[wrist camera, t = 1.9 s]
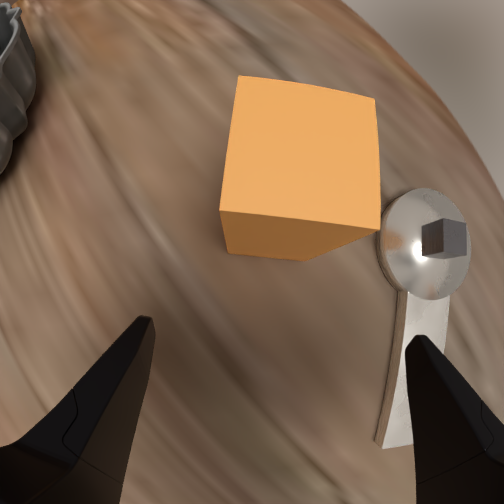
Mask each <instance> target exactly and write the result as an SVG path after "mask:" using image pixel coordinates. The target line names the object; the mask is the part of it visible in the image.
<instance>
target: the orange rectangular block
mask: <svg viewBox="0 0 504 504" xmlns="http://www.w3.org/2000/svg"><path fill="white" fill-rule="evenodd" d="M219 212H220V217H221V222H222V226H223V231H224V236H225V241H226V246H227V251H228V253H229V254H238V255H248V256H258V257H267V258H277V259H287V260H297V261H307V260H309V259H312V258H314V257H316V256H319V255H321V254H324V253H326V252H329V251H331V250H333V249H336V248H338V247H341V246H343V245H346V244H348V243H350V242H353V241H355V240H357V239H360V238H362V237H365V236H367V235H369V234H372V233H374V232H376V231H379V230H380V166H379V147H378V132H377V120H376V109H375V100H374V99H373V98H369V97H365V96H361V95H357V94H352V93H348V92H344V91H339V90H334V89H329V88H324V87H319V86H314V85H308V84H302V83H296V82H289V81H282V80H275V79H267V78H258V77H248V76H239V77H238V83H237V89H236V95H235V102H234V108H233V115H232V121H231V128H230V135H229V141H228V148H227V155H226V163H225V170H224V177H223V185H222V193H221V200H220V208H219Z"/></svg>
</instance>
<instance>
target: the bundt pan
mask: <svg viewBox="0 0 504 504" xmlns="http://www.w3.org/2000/svg"><path fill="white" fill-rule="evenodd" d="M21 13H22V10H21V8H20V7H16V8H13V9H12V7H11V5H10V4H9V3H2V4H0V174H1V173H2V172H3V171H4V169H5V167H6V166H7V164H8V162H9V159H10V156H11V153H12V146H13V140H14V139H15V138H16V137H17V136H19V135H20V134H21V133H23V132H24V130H25V129H26V127H27V122H28V121H27V116H26V110H27V108H28V107H29V105H30V103H31V101H32V99H33V96H34V93H35V89H36V73H35V69H34V67H35V52H34V49H33V47H32V44H31V42H30V39H29V37H28V35H27V32H26V30H25V27H24V25H23V22H22V20H21V17H20V15H21Z"/></svg>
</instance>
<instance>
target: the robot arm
mask: <svg viewBox="0 0 504 504" xmlns="http://www.w3.org/2000/svg"><path fill="white" fill-rule="evenodd" d="M154 343H155V328H154V324H153V319H152V318H151V317H149V316H142V315H141V316H139V317H137V318H136V319H135V321H134V322H133V323H132V324H131V325H130V326H129V327H128V328H127V329H126V330H125V331H124V332H123V333H122V334H121V335H120V336H119V338H118V339H117V340H116V341H115V342H114V343H113V344H112V345H111V346H110V347H109V348H108V349H107V351H106V352H105V353H104V354H103V355H102V356H101V357H100V358H99V359H98V360H97V361H96V362H95V364H94V365H93V366H92V367H91V368H90V369H89V370H88V371H87V372H86V374H85V375H84V376H83V377H82V378H81V379H80V380H79V381H78V382H77V384H76V385H75V386H74V387H73V389H71V390H70V391H69V392H68V394H67V395H66V396H65V397H64V398H63V399H62V400H61V401H60V402H59V403H58V404H57V405H56V406H55V407H54V408H53V409H52V410H51V411H50V412H49V413H48V414H47V415H46V416H45V417H44V418H43V419H42V420H40V421H39V422H38V423H37V424H36V425H35V426H34V427H33V428H32V429H30V430H29V431H28V432H27V433H26V434H25V435H24V436H23V437H21V438H20V439H19V440H17V441H15V442H14V443H12V444H9V445H6V446H3V447H0V504H119V502H120V497H121V492H122V487H123V482H124V477H125V473H126V468H127V464H128V459H129V455H130V451H131V446H132V442H133V438H134V434H135V430H136V426H137V422H138V418H139V414H140V410H141V406H142V403H143V399H144V395H145V391H146V388H147V384H148V380H149V374H150V368H151V361H152V355H153V349H154ZM405 367H406V384H407V394H408V401H409V409H410V417H411V425H412V435H413V445H414V457H415V472H416V504H504V425H503V423H502V422H501V421H500V420H499V419H498V418H497V417H496V416H495V415H494V414H493V412H492V411H491V410H490V409H489V408H488V406H487V405H486V404H485V403H484V401H483V400H481V398H480V397H479V395H478V394H477V393H476V392H475V391H474V389H473V388H472V387H471V386H470V385H469V383H468V382H467V381H466V380H465V379H464V377H463V376H462V375H461V374H460V373H459V372H458V370H457V369H456V368H455V367H454V366H453V365H452V363H451V362H450V361H449V360H448V359H447V358H446V357H445V355H444V354H443V353H442V352H441V351H440V350H439V349H438V348H437V346H436V345H435V344H434V343H433V342H432V341H431V340H430V339H429V338H428V337H427V336H426V335H415V336H414V337H413V339H412V340H411V341H410V343H409V344H408V345H407V347H406V349H405Z"/></svg>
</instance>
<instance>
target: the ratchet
mask: <svg viewBox="0 0 504 504" xmlns="http://www.w3.org/2000/svg"><path fill="white" fill-rule="evenodd" d="M376 250H377V256H378V260H379V264H380V266H381V269H382V271H383V273H384V275H385V277H386V278H387V280H388V282H389V283H390V284H391V285H392V286H393V287H394V288H395V289H396V290H397V291H398V298H397V310H396V320H395V329H394V337H393V345H392V353H391V359H390V366H389V372H388V378H387V384H386V389H385V395H384V400H383V405H382V410H381V414H380V419H379V423H378V428H377V432H376V436H375V440H374V442H375V443H376V444H377V445H378V446H379V447H380V448H381V449H386V448H392V447H398V446H404V445H410V444H413V435H412V425H411V417H410V409H409V401H408V394H407V384H406V367H405V349H406V347H407V345H408V344H409V343H410V341H411V340H412V339H413V337H414V336H415V335H426V336H427V337H428V338H429V339H430V340H431V341H432V342H433V343H434V344H435V345H436V346H437V348H438V349H439V350H440V351H441V352H442V353H443V354H444V347H445V340H446V332H447V323H448V312H449V300H450V294H452V293H453V292H454V291H455V290H456V289H457V288H458V287H459V286H460V285H461V283H462V282H463V280H464V278H465V276H466V274H467V271H468V268H469V264H470V258H471V241H470V235H469V231H468V228H467V225H466V222H465V220H464V218H463V216H462V214H461V212H460V211H459V209H458V208H457V206H456V205H455V204H454V203H453V202H452V201H451V200H450V199H449V198H448V197H446V196H445V195H443V194H442V193H440V192H438V191H436V190H433V189H428V188H419V189H414V190H411V191H409V192H407V193H406V194H404V195H402V196H401V197H399V198H397V199H395V200H394V201H393V202H392V203H390V204H389V206H388V207H387V208H386V209H385V211H384V212H383V214H382V216H381V218H380V230H379V231H377V233H376Z"/></svg>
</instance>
